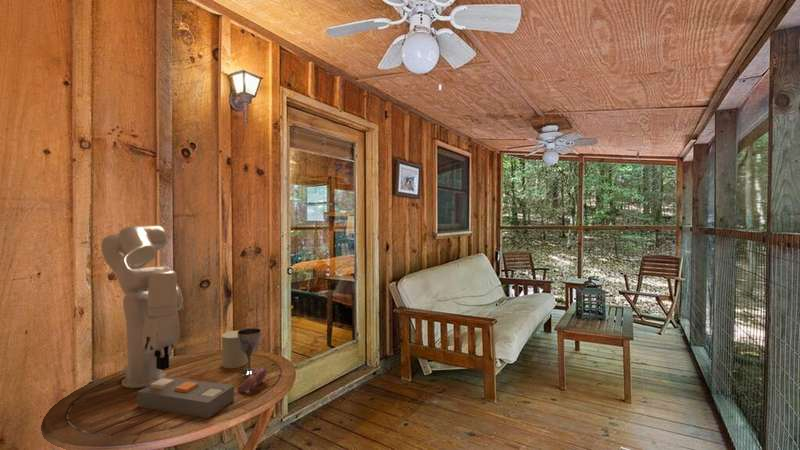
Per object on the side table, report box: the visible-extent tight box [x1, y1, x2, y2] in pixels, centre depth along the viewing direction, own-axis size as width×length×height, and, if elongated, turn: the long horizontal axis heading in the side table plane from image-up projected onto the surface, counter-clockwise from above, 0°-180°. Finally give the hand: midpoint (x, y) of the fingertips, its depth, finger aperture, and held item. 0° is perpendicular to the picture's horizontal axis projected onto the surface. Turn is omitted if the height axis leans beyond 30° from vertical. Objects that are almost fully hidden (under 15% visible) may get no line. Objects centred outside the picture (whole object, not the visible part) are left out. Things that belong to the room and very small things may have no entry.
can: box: [221, 330, 248, 369], centre depth 148 cm, size 9×9×12 cm
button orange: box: [175, 381, 198, 393], centre depth 117 cm, size 4×4×3 cm
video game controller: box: [237, 367, 268, 393], centre depth 128 cm, size 10×5×7 cm, turn 169°
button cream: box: [151, 377, 174, 390], centre depth 119 cm, size 4×4×3 cm
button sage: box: [201, 388, 223, 397], centre depth 115 cm, size 4×4×3 cm
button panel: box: [137, 376, 235, 419], centre depth 117 cm, size 25×11×4 cm, turn 76°
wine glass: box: [237, 327, 262, 377], centre depth 140 cm, size 8×8×15 cm
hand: (162, 368), depth 120 cm, fingers closed
